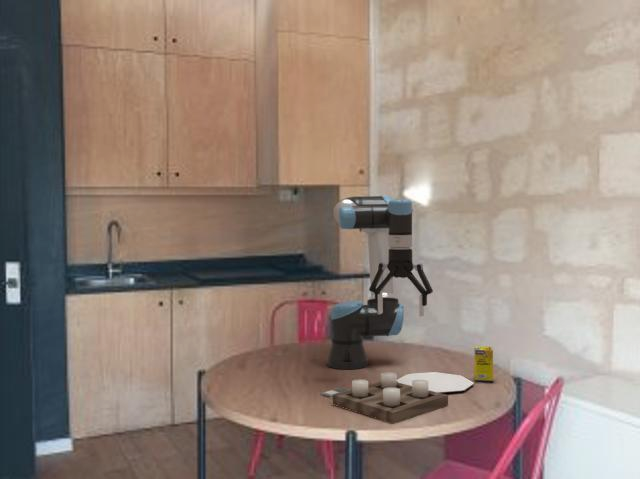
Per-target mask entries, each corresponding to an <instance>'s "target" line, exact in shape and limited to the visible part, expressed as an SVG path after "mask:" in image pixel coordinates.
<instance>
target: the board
mask: <svg viewBox="0 0 640 479" xmlns="http://www.w3.org/2000/svg"><path fill="white" fill-rule="evenodd" d="M396 388H398V389H400V405H398V406H386V405H384V404H383V389H384V388H381V381H380V382H376V383H371V384H368V396H366V397H355V396H352V389H349V391H345V392H341V393H338V394H334V395H333V398H332V405H333V404H335V405H338V406H337V407H339V406H341V407H340V408H342V407H344V408H343V409H345V408H347V409H346V410H348V409H350V410H349V411H351V410H353V411H352V412H355V411H357V412H356V413H358V412H360V413H359V414H361V413H363V414H362V415H364V414H366V415H365V416H367V415H369V416H368V417H371V416H372V417H371V418H374V417H376V418H375V419H377V418H379V419H378V420H380V419H382V420H381V421H383V420H385V421H384V422H387V421H388V422H387V423H390V422H391V423H390V424H396V423H399V422H402V421H406V420H408V419H411V418H414V417H417V416H421V415H423V414H426V413H429V412H432V411H435V410H439V409H441V408H444V407H447V406H449V395H448V394H446V393H437V392H433V391H429V390H428V396H427V397H414V396H412V386H409V385H405V384H401V383H397V387H396ZM335 405H334V406H335ZM395 422H396V423H395Z"/></svg>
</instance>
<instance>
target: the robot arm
mask: <svg viewBox="0 0 640 479" xmlns="http://www.w3.org/2000/svg"><path fill="white" fill-rule="evenodd" d="M412 204H413V203H412V200H410V199H394V198H392V197H391V196H383V195H377V196H374V195H373V196H369V195H368V196H366V195H363V196H362V195H361V196H349V197H346V198H343V199H340V200H338V201H337V202H336V203H335V205H334V206H333V210H332V215H333V218H334V220H335V221H336V222H337V223H338V225H339V228H340V229H341V230H363V233H365V234H366V235H367V243H368V244H367V245H368V262H369V263H368V264H369V265H368V266H369V283H370V286H369V288H368V291H369V292H370V296H369V297H368V299H367V301H366V302H367V304H364V303H363V301H362V300H348V301H343V302H340V303H339V302H338V303H336V304H334V305H333V306H332V307H331V314H330V315H331V316H330V320H331V346H330V350H329V353H328V356H327V358H326V365H327V366H328V367H329V368H332V369H336V370H337V369H338V370H339V369H340V370H355V369H362V368H366V367H367V366H368V365H369V364H368V363H369V361H368V360H369V359H368V355H367V353H366V350H365V349H366V348H365V346H364V337H386V336H387V337H391V336H397V335H400V333H401V331H402V329H403V324H404V315H405V313H404V310H405V309H404V305H403V304H402V303H399V298H398V297H397V296H396V295H395V294H394V278H395V279H396V278H400V279H401V278H402V279H404V278H407V279H408V280H409V281H410V282H411V283H412V284H413V286H414V287H415V288H416V289H417V290H418V292H419V294H421V295H419V297H418V298H419V299H418V300H419V302H418V303H419V310H418V311H419V314H418V315H419V317H421V318H422V317H423V316H424V315H425V306H427V305H428V295H430V294H432V293H434V292H433V287H432V286H431V284H430V281H429V280H428V278H427V275H426V273H425V271H424V267H423V263H418V264H414V263H413V249H412V247H413V212H414V211H413V210H414V209H413V205H412ZM413 270H415V271H416V272H417V274H418V276H419V277H420V280H421V282H422V284H421V282H420V281H419V280H418V279H417V277H415V274H414V273H413V272H412V271H413Z"/></svg>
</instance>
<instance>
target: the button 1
mask: <svg viewBox="0 0 640 479" xmlns="http://www.w3.org/2000/svg"><path fill="white" fill-rule="evenodd" d="M368 385H369V381H368V380H367V379H361V378H360V379H353V380H351V390H352V396H355V397H366V396H368Z"/></svg>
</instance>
